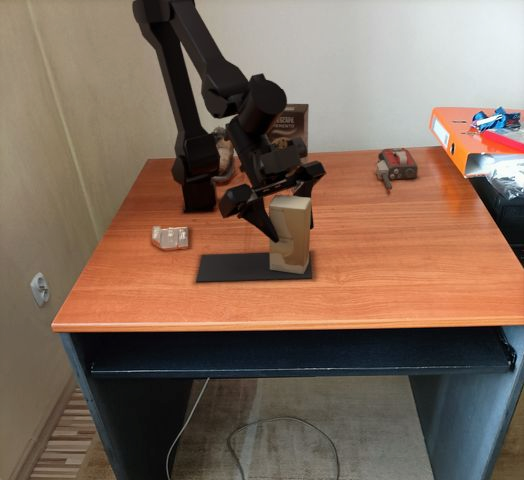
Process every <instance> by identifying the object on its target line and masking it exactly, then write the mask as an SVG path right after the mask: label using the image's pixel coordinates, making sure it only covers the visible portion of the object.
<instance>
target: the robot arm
mask: <svg viewBox="0 0 524 480" xmlns="http://www.w3.org/2000/svg"><path fill="white" fill-rule="evenodd" d="M131 10H132V14H133V15H132V16H133V18H134V20H135V21H136V22H135V23H136V24H138V28H139V30H140V33H141V36H142V37H143V38H144V39H145V40H146V42H147V43H148V44H149V45H150V46H151V47H152V48H153V49H154V52H155V54H156V56H157V60H158V64H159V65H158V66H159V68H160V72H161V76H162V79H163V83H164V87H165V89H166V94H167V97H168V101H169V104H170V108H171V111H172V115H173V118H174V122H175V126H176V130H177V134H176V137H175V138H176V139H175V143H174V147H173V149H174V153H175V154H174V155H175V160H174V161H173V164H172V167H171V169H170V172H171V175H172V178H173V181H174V182H176V183H177V184H179V185H180V186H181V193H182V197H183V204H184V206H183V213H204V212H205V213H206V212H214V210H215V208H216V207H215V206H218V207H217V208H218V211H219V213H220V216H221V217H222V219H228V218H230V217H234V216H236V219H238V220H240V219H243V220H244V221H246V222H247V223H249V224H250V225H252V226H253V227H254V228H256V229H257V230H259V232H261V233H263V234H264V236H266V237H267V238H268V239H269V238H270V239H271V240H272V241H273V242H274V243H278V242H279V237H278V235H277V232H276V230H275V228H274V226H273V224H272V222H271V220H270V218H269V213H268V212H267V210H266V207H265V199H264V198H266V197H269V196H273V195H276V194H278V193H281V192H283V191H284V192H285V191H287V190H289V189H290V191H291V193H292V194H291V196H297V197H305V198H311V199H312V192H313V188H314V187H315V186H316V185H317V184H318V183H319V182H320V181H321V180H322V178H323V177H325V175H327V170H326V168H325V166H324V164H323V163H322V162H321V161H319V160H317V159H316V160H313V161H308V163H306V164H303V165H302V163H301V158H304V157H307V155H308V156H309V150H308V151H307V147H306V145H305V143H304V141H303V139H302V138H301V137H297V138H294V139H292V140H288V141H287V147H286V148H282V149H279V147H278V145H276V143H273V144H270V142H269V140H268V137H267V135H266V133H268V132H269V131H270V130H271V129H272V127H273V126H274V124H275V123H276V121H277V120H278V119H279V117H280V116H281V114H282V113H283V111H284V110H285V108H286V106H287V104H288V97H287V94H286V92H285V90H284V89H283V88H282V87H281V86H280V85H279V84H278V83H276V82H275V81H273V80H270V79H267V78H266V76H265V74H264V73H263V72H261V73H257V74H252V75H251V76H250V78H249V79H248V78H247V76H246V75H245V74H244V73H243V70H241V68H240V67H239V66H237V65H235V64H234V63H232V62H230V61H228V60H227V59H226V58H225V56H224V55H223V53H222V51H221V50H220V48H219V46H218V44H217V43H216V41H215V38H214V37H213V35H212V33H211V32H210V30H209V29H208V26H207V25H206V23H205V21H204V19H203V18H202V16H201V14H200V13H199V11H198V9H197V7H196V1H195V0H133V1H132V4H131ZM182 47H183V49H184V51H185V52H186V54H187V57H188V59H190V61H191V63H192V65H193V67H194V69H195V70H196V72H197V74H198V76H199V78H200V80H201V87H200V95H201V97H202V100H203V102H204V107H205V109H206V111H207V112H208V113H209V114H210V116H212V118H213V119H218V120H222V119H225V118H226V119H227V118H229V117H232V118H231V119H230V121H229V122H228V123H225V124H224V126H225V127H224V129H225V132H224V141H229V140H230V141H231V143H232V145H233V147H234V152H235V154H236V155H237V158H238V160H239V162H240V166H239V167H238V169H239V171H240V173H241V174H244V173H245V175H246V177H247V178H248V180H249V182H250V185H251V186H250V185H249V184H247V183H242V184H238V185H236V186H232V187H229V188H227V189H226V190H225V192H224V193H223V195H222V196H221V197H220V199H219V201H218V191H217V184H216V183H217V182H214V181H213V180H212V177H215V176H216V177H217V176H219V168H220V154H219V151H218V150H217V146H216V142H215V137H214V136H213V134H212V133H211V132H210V133H209V132H208V131H207V130H206V129H205V128H204V127H203V125H202V121H201V118H200V114H199V111H198V107H197V103H196V99H195V95H194V91H193V87H192V83H191V79H190V75H189V72H188V71H189V70H188V67H187V64H186V60H185V56H184V52H183V49H182ZM293 166H296V167H297V166H299V168H298V169H297V170H296V171H295V172H294V173H293V175H291V176H288V177H286V174H288V173H290V171H291V170H292V169H291V167H293ZM217 203H218V204H217ZM313 215H314V214H313V205H312V203H311V220H310V231H311V230H313V229H314V227H315V224H314V216H313Z"/></svg>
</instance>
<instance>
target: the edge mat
mask: <svg viewBox="0 0 524 480" xmlns="http://www.w3.org/2000/svg"><path fill="white" fill-rule="evenodd" d="M200 258H201V259H200V262H199V267H198V271H197V274H196V278H195V279H196V280H195V283H196V284H197V283H225V282H226V283H230V282H256V281H257V282H258V281H291V280H313V268H312V267H313V266H312V254H311V250H309V263H308V265H307V268H306V270H305V272H304V274H298V273H290V272H283V271H276V270H270V251H268V252H242V253H238V252H237V253H215V254H214V253H211V254H201V257H200Z"/></svg>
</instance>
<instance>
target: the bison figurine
mask: <svg viewBox="0 0 524 480" xmlns="http://www.w3.org/2000/svg"><path fill="white" fill-rule="evenodd" d="M224 132H225V127H222V126H220V125H217V127H215V128H214V129H213V131H211V132H210V133H212V134H213V136H214V137H215V142H216V146H217V150H218V151H219V154H220V168H219V176H217V177H216V176H215V177H212V180H213V182H215V183H226V182H228V180H229V179H230V178H231V177H232V174H233V173H234V170H235V163H236V159H235V157H234V155H235V149H234V147H233V145H232V143H231V141H230V140H229V141H224Z"/></svg>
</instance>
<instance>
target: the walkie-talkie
mask: <svg viewBox="0 0 524 480" xmlns="http://www.w3.org/2000/svg"><path fill="white" fill-rule="evenodd" d="M377 157H378V160H379V162H377V163H376V170H375V171H376V174H377V177H378V179H381V180H383V182H384V184H385V186H386V188H387V189H388V190H390V191H392V189H393V186H392V183H391V180H407V179H409V180H410V179H416V178H417V176H418V170H419V167H418V164H417V163H416V161H415V159H414V158H413V156H412V154H411V153H410V151H409V149H406V148H405V147H393V148H384V149H383V150H381V152H380V153H378V156H377Z"/></svg>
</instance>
